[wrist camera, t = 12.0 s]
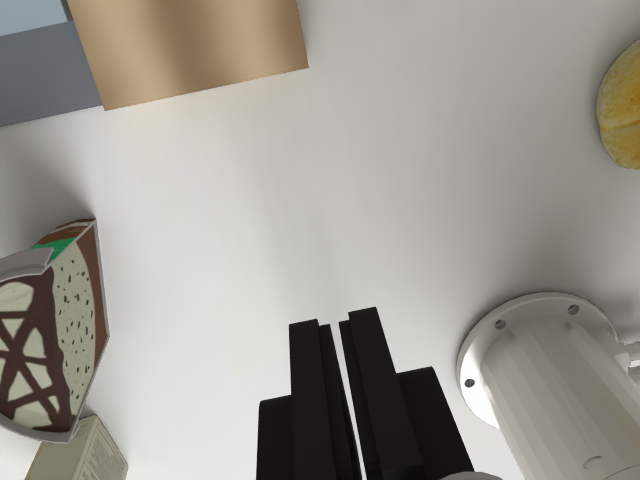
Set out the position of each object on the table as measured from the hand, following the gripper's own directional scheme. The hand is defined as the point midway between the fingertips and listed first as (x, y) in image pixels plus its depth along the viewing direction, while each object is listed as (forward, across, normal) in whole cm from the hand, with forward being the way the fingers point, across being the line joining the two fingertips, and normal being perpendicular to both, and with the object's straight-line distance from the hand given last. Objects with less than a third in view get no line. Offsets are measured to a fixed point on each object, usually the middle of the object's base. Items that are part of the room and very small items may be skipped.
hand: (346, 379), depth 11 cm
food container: (+29, +19, +9) cm, 36 cm away
